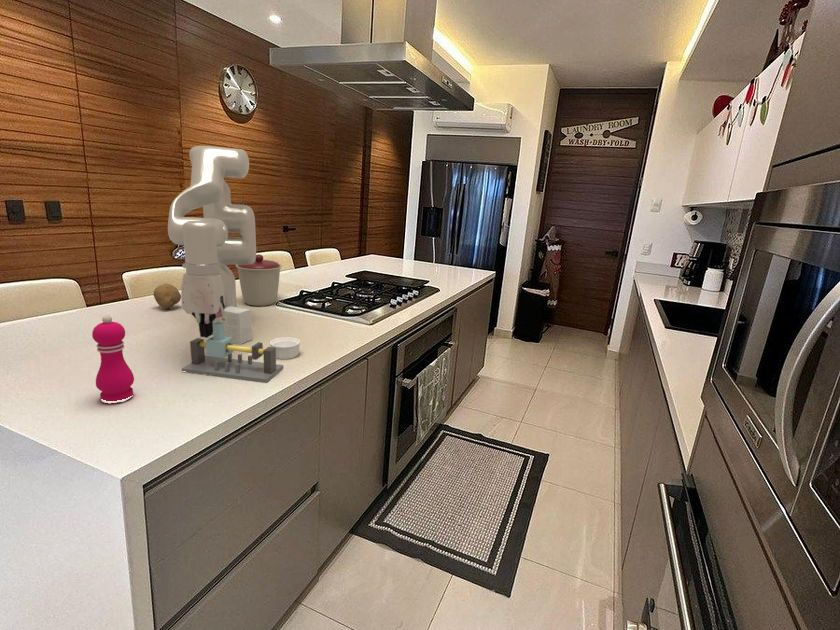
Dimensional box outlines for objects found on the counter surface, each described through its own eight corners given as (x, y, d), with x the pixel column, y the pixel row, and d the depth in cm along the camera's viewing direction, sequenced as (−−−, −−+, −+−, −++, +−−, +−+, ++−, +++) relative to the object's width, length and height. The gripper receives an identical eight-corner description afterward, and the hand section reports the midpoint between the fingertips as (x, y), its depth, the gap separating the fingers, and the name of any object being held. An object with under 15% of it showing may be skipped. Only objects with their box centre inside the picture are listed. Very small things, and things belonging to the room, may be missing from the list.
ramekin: (283, 362, 128) (283, 348, 126) (263, 355, 132) (263, 341, 131) (306, 354, 135) (306, 341, 134) (286, 347, 139) (286, 335, 138)
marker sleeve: (206, 355, 118) (204, 324, 115) (216, 350, 122) (214, 320, 119) (224, 357, 117) (222, 326, 115) (233, 352, 121) (231, 322, 119)
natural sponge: (175, 304, 176) (173, 280, 173) (186, 309, 171) (184, 284, 169) (151, 308, 169) (148, 283, 166) (162, 313, 164) (159, 287, 161)
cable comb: (181, 371, 117) (179, 342, 114) (204, 358, 126) (202, 331, 124) (266, 382, 114) (265, 353, 112) (283, 368, 123) (282, 340, 121)
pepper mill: (110, 390, 104) (99, 310, 99) (142, 391, 105) (133, 311, 99) (90, 405, 97) (78, 319, 92) (125, 406, 98) (114, 321, 92)
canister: (274, 310, 178) (273, 259, 173) (230, 307, 178) (227, 255, 173) (287, 299, 196) (287, 253, 190) (247, 296, 196) (245, 250, 190)
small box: (252, 339, 144) (251, 309, 141) (240, 344, 139) (238, 313, 136) (232, 335, 146) (231, 305, 143) (220, 340, 141) (218, 309, 138)
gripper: (165, 268, 111) (172, 337, 116) (220, 274, 109) (224, 343, 114) (185, 264, 118) (190, 328, 123) (236, 269, 116) (239, 334, 121)
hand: (206, 335), depth 118 cm, fingers closed
